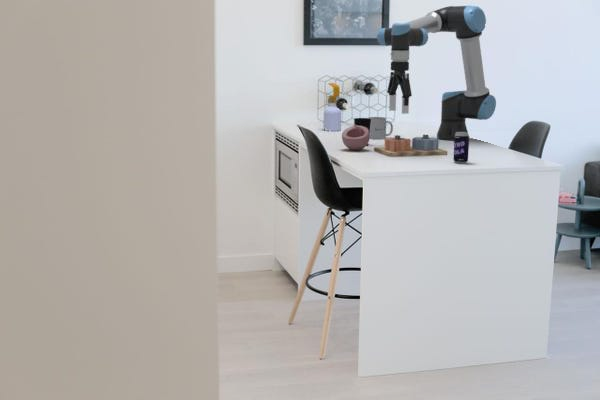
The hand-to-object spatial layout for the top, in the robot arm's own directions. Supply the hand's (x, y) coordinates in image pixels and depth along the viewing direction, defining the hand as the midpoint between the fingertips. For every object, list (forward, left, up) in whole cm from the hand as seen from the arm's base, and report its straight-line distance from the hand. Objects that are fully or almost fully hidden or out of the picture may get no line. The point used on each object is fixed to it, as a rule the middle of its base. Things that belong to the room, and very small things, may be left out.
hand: (398, 112), depth 358 cm
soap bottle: (-1, -89, -18) cm, 91 cm away
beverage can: (-14, +31, -18) cm, 38 cm away
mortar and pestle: (+14, -13, -18) cm, 26 cm away
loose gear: (0, 0, -16) cm, 16 cm away
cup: (+5, -29, -18) cm, 34 cm away
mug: (-13, -51, -18) cm, 55 cm away
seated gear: (-13, 0, -16) cm, 21 cm away
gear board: (-6, 0, -18) cm, 18 cm away
